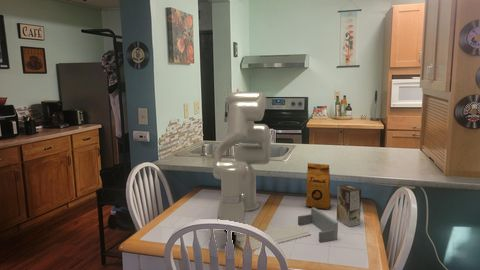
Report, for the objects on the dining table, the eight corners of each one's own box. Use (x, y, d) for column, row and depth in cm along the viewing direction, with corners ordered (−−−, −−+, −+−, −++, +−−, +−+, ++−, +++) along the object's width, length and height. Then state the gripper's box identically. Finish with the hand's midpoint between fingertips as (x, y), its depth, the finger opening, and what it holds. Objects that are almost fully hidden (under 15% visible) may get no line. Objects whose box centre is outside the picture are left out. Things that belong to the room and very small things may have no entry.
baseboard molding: (313, 237, 148) (295, 227, 159) (313, 230, 148) (295, 220, 158) (246, 255, 134) (231, 242, 144) (246, 248, 133) (231, 235, 144)
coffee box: (360, 224, 159) (362, 189, 157) (349, 227, 157) (350, 191, 154) (346, 217, 167) (348, 183, 165) (335, 219, 165) (336, 185, 162)
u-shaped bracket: (297, 224, 160) (298, 209, 159) (313, 222, 162) (314, 207, 161) (319, 242, 143) (320, 225, 142) (337, 239, 145) (338, 222, 144)
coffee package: (328, 211, 175) (329, 167, 171) (303, 207, 180) (304, 164, 177) (332, 205, 184) (334, 162, 180) (308, 201, 189) (309, 160, 186)
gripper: (246, 193, 143) (247, 237, 146) (209, 197, 139) (210, 242, 141) (253, 199, 136) (253, 245, 139) (214, 203, 132) (215, 251, 134)
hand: (231, 243), depth 140 cm, fingers closed
